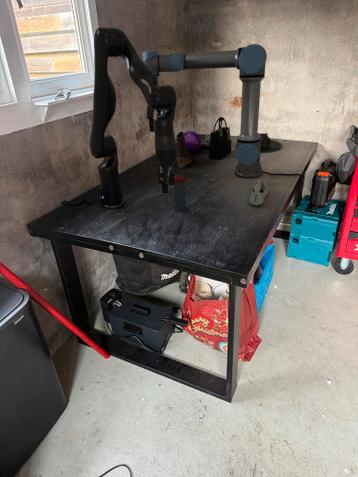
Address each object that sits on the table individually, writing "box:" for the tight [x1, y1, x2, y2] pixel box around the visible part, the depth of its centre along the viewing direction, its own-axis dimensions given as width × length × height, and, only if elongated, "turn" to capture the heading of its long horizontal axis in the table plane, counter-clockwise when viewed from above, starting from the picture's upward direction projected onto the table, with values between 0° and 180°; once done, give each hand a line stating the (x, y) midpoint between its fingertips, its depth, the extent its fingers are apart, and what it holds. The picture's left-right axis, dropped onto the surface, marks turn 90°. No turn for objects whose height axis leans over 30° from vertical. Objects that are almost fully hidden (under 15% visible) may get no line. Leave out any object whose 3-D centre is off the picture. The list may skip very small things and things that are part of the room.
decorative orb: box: [183, 130, 202, 154], centre depth 230 cm, size 15×15×15 cm
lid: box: [174, 174, 186, 184], centre depth 145 cm, size 5×5×2 cm
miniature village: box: [235, 132, 282, 154], centre depth 237 cm, size 32×35×9 cm
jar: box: [173, 181, 187, 213], centre depth 149 cm, size 5×5×15 cm
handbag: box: [207, 116, 232, 160], centre depth 218 cm, size 21×9×25 cm, turn 148°
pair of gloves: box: [199, 134, 233, 149], centre depth 252 cm, size 30×26×5 cm
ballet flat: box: [249, 179, 269, 207], centre depth 158 cm, size 8×24×8 cm, turn 163°
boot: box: [175, 131, 194, 169], centre depth 209 cm, size 9×24×20 cm, turn 168°
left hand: (168, 188), depth 126 cm, fingers open, 8 cm apart
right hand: (156, 128), depth 177 cm, fingers open, 13 cm apart
